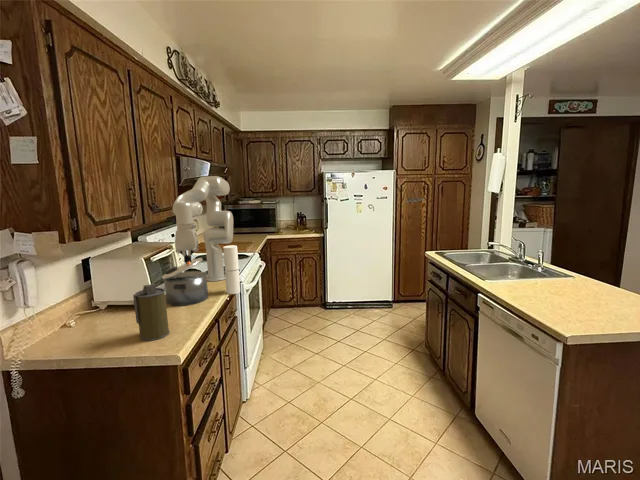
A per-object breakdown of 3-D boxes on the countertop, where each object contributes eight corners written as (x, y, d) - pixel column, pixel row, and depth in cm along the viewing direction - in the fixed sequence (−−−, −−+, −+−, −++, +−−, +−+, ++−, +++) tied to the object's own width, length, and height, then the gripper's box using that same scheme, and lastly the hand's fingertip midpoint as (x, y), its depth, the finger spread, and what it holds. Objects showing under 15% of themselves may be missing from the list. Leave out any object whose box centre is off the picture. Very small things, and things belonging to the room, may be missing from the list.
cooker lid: (170, 272, 177) (168, 267, 177) (206, 256, 178) (204, 251, 178) (157, 283, 157) (154, 278, 157) (197, 265, 158) (194, 260, 158)
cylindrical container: (236, 294, 176) (233, 247, 172) (224, 293, 177) (220, 247, 173) (242, 290, 183) (239, 245, 179) (230, 289, 184) (227, 245, 180)
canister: (161, 327, 136) (156, 279, 133) (174, 333, 130) (169, 284, 127) (133, 336, 128) (127, 286, 125) (145, 344, 122) (139, 291, 118)
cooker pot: (174, 293, 181) (172, 271, 179) (212, 290, 184) (210, 269, 182) (159, 309, 157) (156, 284, 155) (202, 305, 160) (200, 281, 158)
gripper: (202, 226, 169) (205, 261, 172) (171, 227, 167) (174, 263, 170) (199, 227, 162) (202, 264, 164) (166, 228, 160) (170, 266, 162)
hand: (188, 263), depth 167 cm, fingers closed
